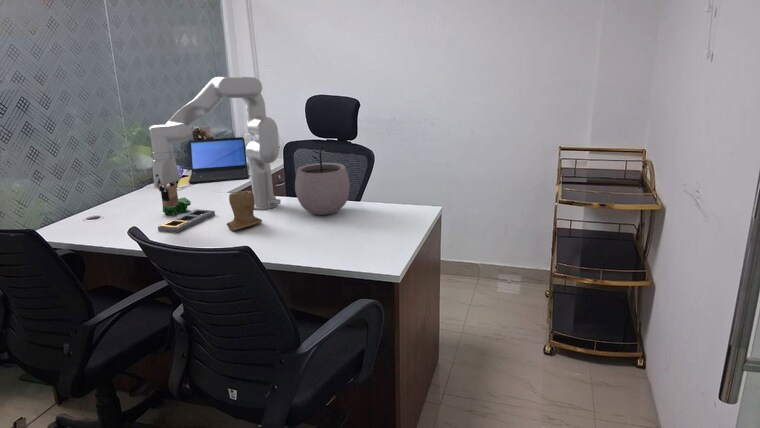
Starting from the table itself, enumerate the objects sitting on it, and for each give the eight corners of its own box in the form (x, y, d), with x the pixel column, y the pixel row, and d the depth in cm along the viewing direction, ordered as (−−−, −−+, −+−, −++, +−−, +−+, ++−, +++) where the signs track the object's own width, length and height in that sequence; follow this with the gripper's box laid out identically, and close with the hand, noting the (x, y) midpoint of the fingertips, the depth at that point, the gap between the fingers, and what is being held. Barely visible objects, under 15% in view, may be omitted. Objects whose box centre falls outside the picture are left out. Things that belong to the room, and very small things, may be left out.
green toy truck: (173, 224, 248) (165, 210, 242) (167, 219, 252) (159, 205, 245) (195, 209, 254) (188, 195, 248) (188, 204, 257) (181, 190, 251)
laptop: (188, 185, 303) (183, 151, 297) (193, 171, 338) (189, 140, 332) (248, 179, 310) (245, 146, 304) (247, 166, 345) (244, 136, 339)
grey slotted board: (215, 214, 245) (214, 210, 244) (177, 232, 223) (176, 227, 222) (197, 213, 248) (196, 208, 248) (158, 230, 226) (157, 225, 225)
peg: (178, 204, 226) (176, 185, 224) (171, 207, 222) (168, 188, 220) (170, 203, 228) (167, 185, 225) (163, 206, 224) (160, 187, 221)
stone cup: (249, 219, 237) (246, 186, 233) (266, 224, 229) (262, 190, 225) (219, 228, 227) (215, 193, 222) (235, 233, 219) (231, 198, 214)
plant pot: (313, 203, 256) (308, 141, 247) (359, 207, 248) (356, 142, 239) (287, 219, 235) (281, 151, 226) (337, 223, 227) (332, 153, 218)
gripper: (170, 151, 228) (176, 193, 233) (140, 159, 213) (148, 204, 218) (185, 152, 225) (190, 194, 230) (156, 160, 210) (163, 205, 215)
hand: (170, 198), depth 224 cm, fingers closed on peg, 4 cm apart
